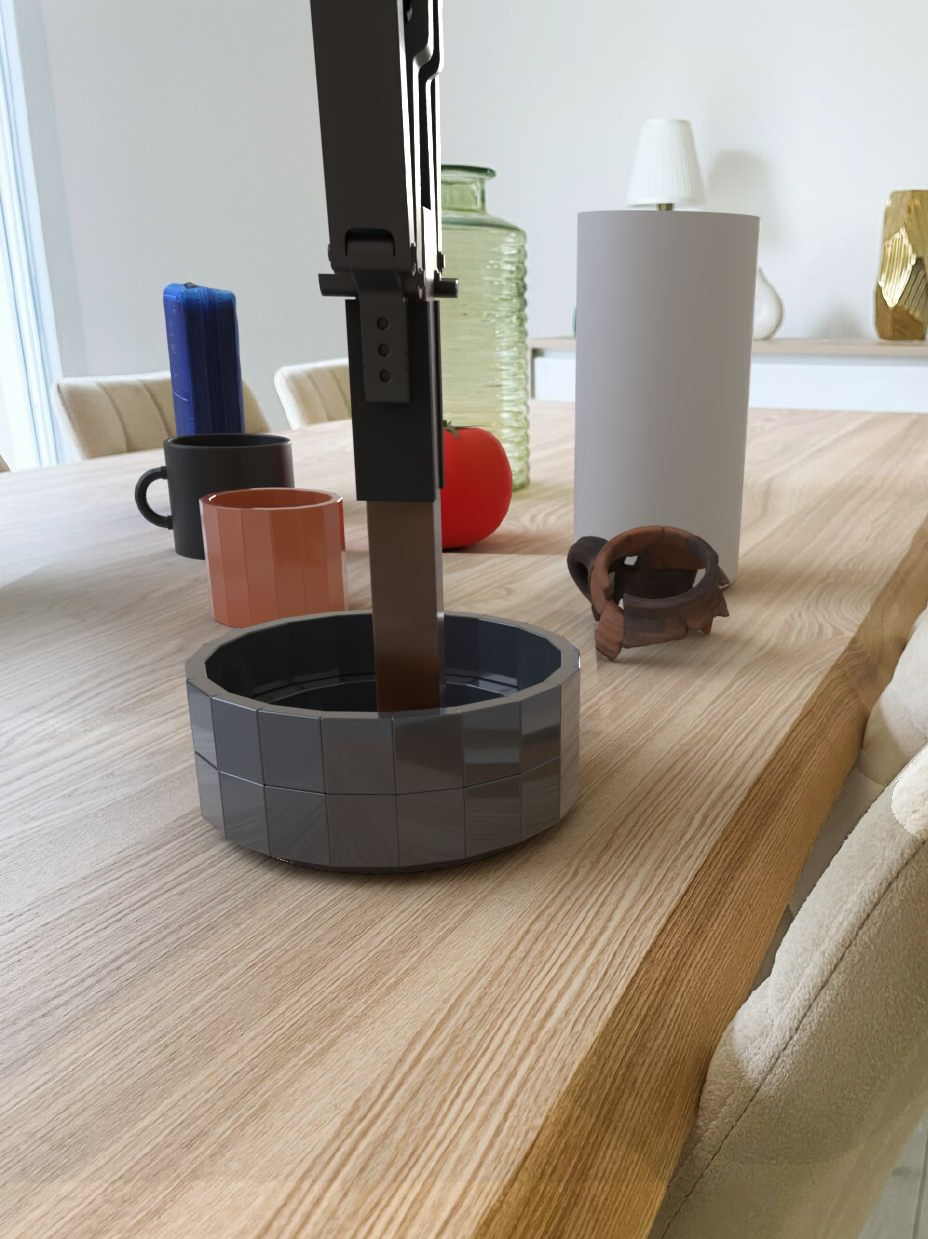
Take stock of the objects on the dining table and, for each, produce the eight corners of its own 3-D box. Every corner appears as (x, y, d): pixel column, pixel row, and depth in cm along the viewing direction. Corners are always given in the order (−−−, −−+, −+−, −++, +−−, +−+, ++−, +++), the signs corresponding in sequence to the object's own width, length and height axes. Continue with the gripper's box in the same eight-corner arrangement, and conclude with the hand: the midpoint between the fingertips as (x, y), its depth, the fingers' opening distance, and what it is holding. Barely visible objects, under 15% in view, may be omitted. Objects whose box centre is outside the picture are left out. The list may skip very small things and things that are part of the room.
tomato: (371, 533, 107) (365, 411, 102) (499, 530, 109) (498, 411, 105) (385, 561, 96) (378, 426, 92) (526, 557, 99) (526, 426, 95)
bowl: (150, 885, 44) (127, 715, 41) (253, 738, 58) (240, 605, 56) (579, 888, 44) (582, 721, 42) (576, 742, 59) (578, 611, 56)
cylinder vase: (765, 577, 94) (791, 220, 84) (684, 607, 84) (704, 209, 74) (629, 556, 100) (639, 221, 90) (540, 582, 91) (540, 211, 81)
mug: (153, 547, 99) (139, 432, 95) (303, 545, 101) (295, 433, 97) (131, 572, 90) (115, 447, 87) (296, 570, 92) (286, 447, 89)
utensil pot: (197, 641, 74) (182, 508, 70) (232, 607, 81) (220, 486, 78) (336, 643, 74) (327, 510, 71) (358, 610, 82) (351, 489, 78)
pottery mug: (756, 645, 78) (764, 546, 71) (671, 738, 73) (670, 642, 67) (608, 571, 82) (602, 473, 76) (519, 655, 78) (504, 558, 71)
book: (177, 501, 120) (153, 281, 112) (233, 499, 122) (212, 282, 114) (198, 526, 108) (172, 282, 100) (259, 523, 110) (238, 284, 102)
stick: (380, 775, 47) (349, 203, 39) (389, 754, 49) (361, 208, 41) (442, 776, 47) (423, 205, 39) (448, 755, 49) (431, 210, 42)
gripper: (476, -496, 28) (491, 534, 37) (510, -230, 42) (515, 466, 51) (147, -510, 28) (245, 529, 37) (293, -238, 42) (337, 463, 51)
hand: (402, 491), depth 44 cm, fingers closed on stick, 2 cm apart
